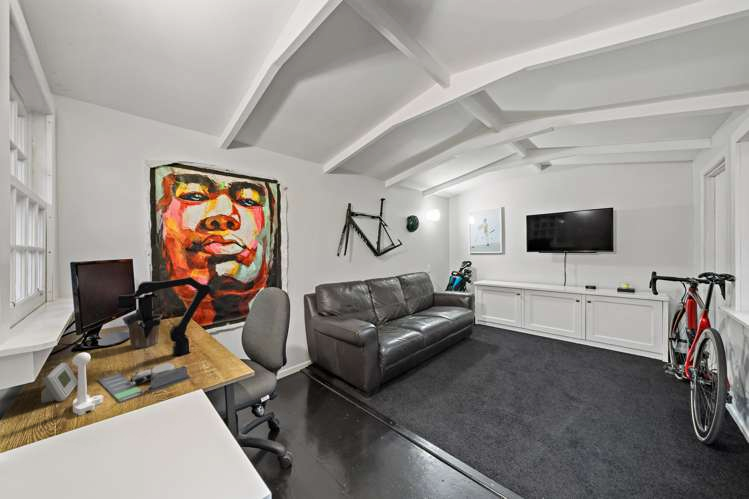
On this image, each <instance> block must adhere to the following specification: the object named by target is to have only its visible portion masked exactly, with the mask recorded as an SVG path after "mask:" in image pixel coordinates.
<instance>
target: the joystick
mask: <svg viewBox="0 0 749 499" xmlns="http://www.w3.org/2000/svg"><path fill="white" fill-rule="evenodd" d="M91 359H92V358H91V354H90V353H88V352H79V353H77V354H76V355H75V356H74V357H73V358H72V364H73V365H74V366H76V367H77V381H78V383H77V391H76V392H77V394H76V395H77V397H76V398H75V399H73V402H72V412H73V413H74V414H75V413H76V414H75V415H77V414H78V415H77V416H83V414H84V415H86V412H88V411H90V412H91V411H95V407H96V406H98V405H100V404H102V403H103V402H104V395H103V394H100V395H98V394H97V395H94V396H92V397H91V396H90V394H88V388H87V386H88V385H87V367H86V366H87V364H88V363H89V362H90V361H91Z"/></svg>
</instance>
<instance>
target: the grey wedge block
mask: <svg viewBox="0 0 749 499" xmlns="http://www.w3.org/2000/svg"><path fill="white" fill-rule="evenodd" d="M188 380H191V375H188V367H187V366H185V365H182V366H180V367H177V368H176V367H175V369H173V370H170V371H167V372H164V373H160V374H157V375H154V376H151V379H150V386H149V387H147V391H148V392H150V393H154V392H156V391H157V392H158V391H159V390H160V391H161V390H163V389H166V388H168V387H170V386H174V385H176V384H179V383H182V382H185V381H188Z"/></svg>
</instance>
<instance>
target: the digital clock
mask: <svg viewBox="0 0 749 499" xmlns="http://www.w3.org/2000/svg"><path fill="white" fill-rule="evenodd" d="M43 382H44V384H45V385H46V387H45V388H44V389H42V391H41V393H40V394H41V395H40V396H41V399H40V400H41V402H40V403H48V402H53V401H56V402H63V401H64V400H66V398H68V396H69V395H70V394H71V392H72V391H73V390H74V388H75V387H76V386H78V378H77V377H76V376H75V374H74V373H73V371H72V369H71V367H70V366H69V364H68V363H67V362H61V363H58V365H56V366H55V367H54V368H53V369H52V370H51V371H50V372H48V374H47V375H46V376H45V377H44V378H43Z"/></svg>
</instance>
